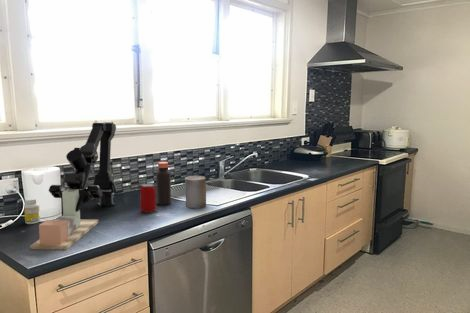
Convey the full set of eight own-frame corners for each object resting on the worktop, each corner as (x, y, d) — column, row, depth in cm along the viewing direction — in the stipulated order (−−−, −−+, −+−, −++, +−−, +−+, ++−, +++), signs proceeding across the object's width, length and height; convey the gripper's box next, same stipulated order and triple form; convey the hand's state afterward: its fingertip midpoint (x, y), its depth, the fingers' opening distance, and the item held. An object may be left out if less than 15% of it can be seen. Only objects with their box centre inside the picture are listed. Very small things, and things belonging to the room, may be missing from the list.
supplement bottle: (35, 224, 147) (34, 200, 145) (22, 224, 147) (20, 200, 145) (42, 220, 152) (41, 197, 151) (29, 219, 152) (28, 197, 151)
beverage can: (149, 207, 171) (149, 182, 170) (159, 210, 167) (158, 184, 165) (137, 211, 166) (136, 184, 164) (146, 214, 162) (146, 187, 160)
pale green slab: (69, 224, 142) (67, 189, 140) (80, 225, 142) (78, 189, 140) (46, 241, 125) (43, 201, 123) (59, 241, 125) (56, 201, 123)
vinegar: (173, 203, 179) (173, 162, 177) (162, 206, 174) (161, 164, 172) (165, 200, 184) (164, 161, 181) (153, 203, 179) (152, 162, 176)
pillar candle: (203, 202, 182) (202, 172, 180) (208, 207, 173) (208, 176, 171) (183, 204, 178) (182, 173, 176) (188, 209, 169) (187, 177, 167)
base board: (69, 222, 150) (68, 205, 149) (98, 222, 150) (97, 206, 149) (30, 249, 122) (28, 229, 121) (66, 249, 122) (65, 229, 121)
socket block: (47, 238, 128) (46, 220, 127) (67, 238, 128) (66, 220, 127) (40, 244, 123) (38, 225, 123) (60, 244, 123) (59, 225, 122)
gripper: (49, 164, 140) (35, 200, 131) (98, 164, 140) (87, 200, 131) (60, 180, 149) (48, 214, 140) (106, 180, 149) (97, 215, 140)
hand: (69, 211), depth 137 cm, fingers closed on pale green slab, 4 cm apart
